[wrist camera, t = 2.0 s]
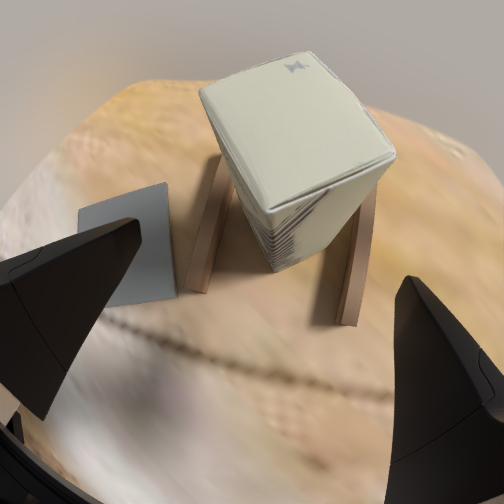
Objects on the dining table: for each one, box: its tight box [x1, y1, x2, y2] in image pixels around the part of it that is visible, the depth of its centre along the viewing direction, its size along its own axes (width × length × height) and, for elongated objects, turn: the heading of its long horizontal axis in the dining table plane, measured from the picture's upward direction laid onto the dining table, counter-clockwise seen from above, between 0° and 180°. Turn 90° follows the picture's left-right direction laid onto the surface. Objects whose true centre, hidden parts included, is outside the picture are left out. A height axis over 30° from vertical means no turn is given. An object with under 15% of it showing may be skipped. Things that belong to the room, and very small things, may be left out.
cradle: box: [184, 155, 377, 327], centre depth 19 cm, size 11×11×2 cm
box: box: [199, 51, 397, 273], centre depth 13 cm, size 5×4×13 cm
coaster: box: [78, 182, 178, 308], centre depth 21 cm, size 9×9×1 cm
